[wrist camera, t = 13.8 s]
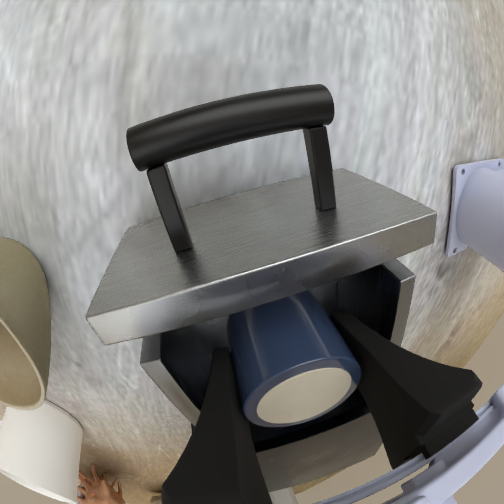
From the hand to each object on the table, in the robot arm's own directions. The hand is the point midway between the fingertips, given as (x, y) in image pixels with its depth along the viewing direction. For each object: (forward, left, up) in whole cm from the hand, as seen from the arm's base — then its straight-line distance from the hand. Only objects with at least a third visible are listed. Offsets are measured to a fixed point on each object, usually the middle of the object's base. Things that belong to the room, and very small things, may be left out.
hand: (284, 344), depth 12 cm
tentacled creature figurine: (+35, +31, -5) cm, 47 cm away
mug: (+29, +11, -5) cm, 31 cm away
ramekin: (0, 0, -1) cm, 1 cm away
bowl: (+15, -5, -5) cm, 17 cm away
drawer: (0, -1, -4) cm, 5 cm away
